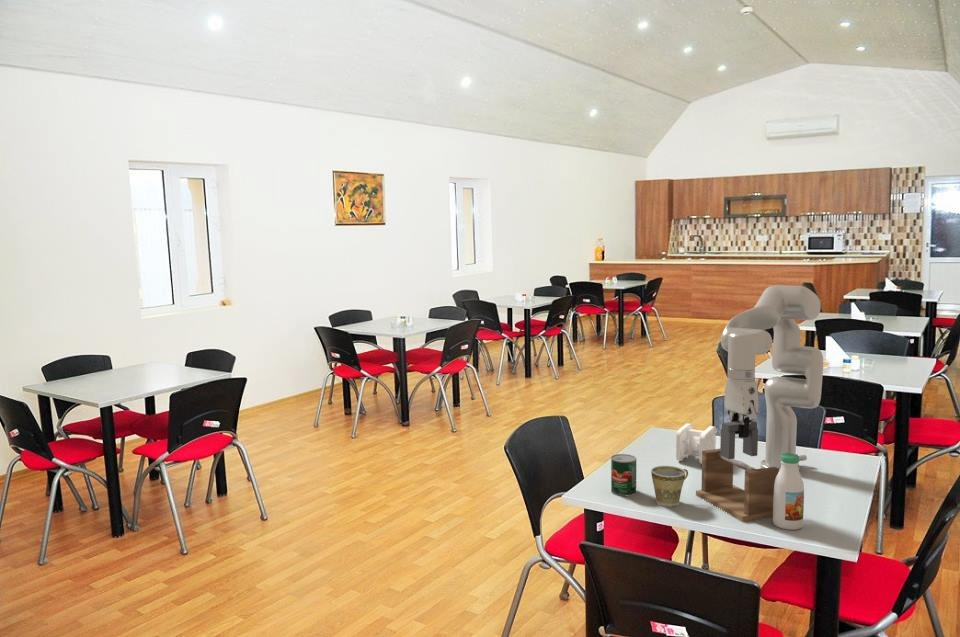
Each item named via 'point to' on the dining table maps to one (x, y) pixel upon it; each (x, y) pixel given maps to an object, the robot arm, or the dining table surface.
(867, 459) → the dining table surface
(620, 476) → the canned tomato
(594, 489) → the dining table surface
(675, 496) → the ceramic cup
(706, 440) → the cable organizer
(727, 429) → the grey arch block
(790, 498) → the milk bottle
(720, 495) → the wooden rod bracket
